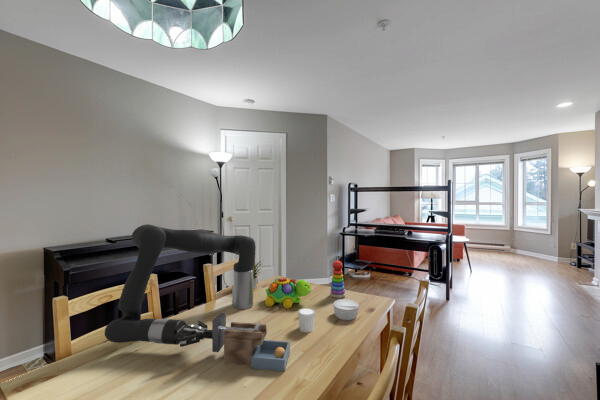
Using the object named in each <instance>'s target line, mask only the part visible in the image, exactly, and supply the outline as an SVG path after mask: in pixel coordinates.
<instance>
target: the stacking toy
mask: <svg viewBox="0 0 600 400" xmlns="http://www.w3.org/2000/svg"><path fill="white" fill-rule="evenodd" d="M332 267H333V270H332V278H331V285H330V292H329V296H330V297H331V298H334V299H344V298H345V296H346V289H345V282H344V274H343V270H342V269H343V263H342V261H340V260H335V261H334V262H332Z"/></svg>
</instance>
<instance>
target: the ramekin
mask: <svg viewBox="0 0 600 400" xmlns="http://www.w3.org/2000/svg"><path fill="white" fill-rule="evenodd" d="M332 306H333V310H334V312H333V313H334V315H335V317H336V318H337V319H340V320H342V321H343V320H344V321H352V320H355V319H356V318H357V316H358V313H359V312H358V311H359V308H360V305H359V303H358V302H356V301H355V300H353V299H348V298H347V299H345V298H338V299H337V300H335V301H333V304H332Z"/></svg>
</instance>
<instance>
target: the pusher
mask: <svg viewBox="0 0 600 400" xmlns="http://www.w3.org/2000/svg"><path fill="white" fill-rule="evenodd" d="M226 313H227V312H219V313H218V314H217V315H216V316H215V317H214V318H213V319H212V322H211V323H212V324H211V326H212V327H211V328H212V329H211V330H212V339H211V340H212V341H211V342H212V344H211V345H212V346H211V347H212V349H211V350H212V351H211V352H212V353H219V352H220V351H221V349H222V348H224V337H225V330H240V331H256V332H260V331H261V324H262V322H261V321H258V322H257V323H255V324H256V326H255V329H254V328H238V327H231V326H226V325H227V323H226V321H227V319H226V317H227V314H226Z"/></svg>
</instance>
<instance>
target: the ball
mask: <svg viewBox="0 0 600 400" xmlns="http://www.w3.org/2000/svg"><path fill="white" fill-rule="evenodd" d="M274 354H275V357H276V358H281V359H283V357H284V354H285V350H284V348H282V347H278V348H277V349H276V350H275V353H274Z"/></svg>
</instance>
